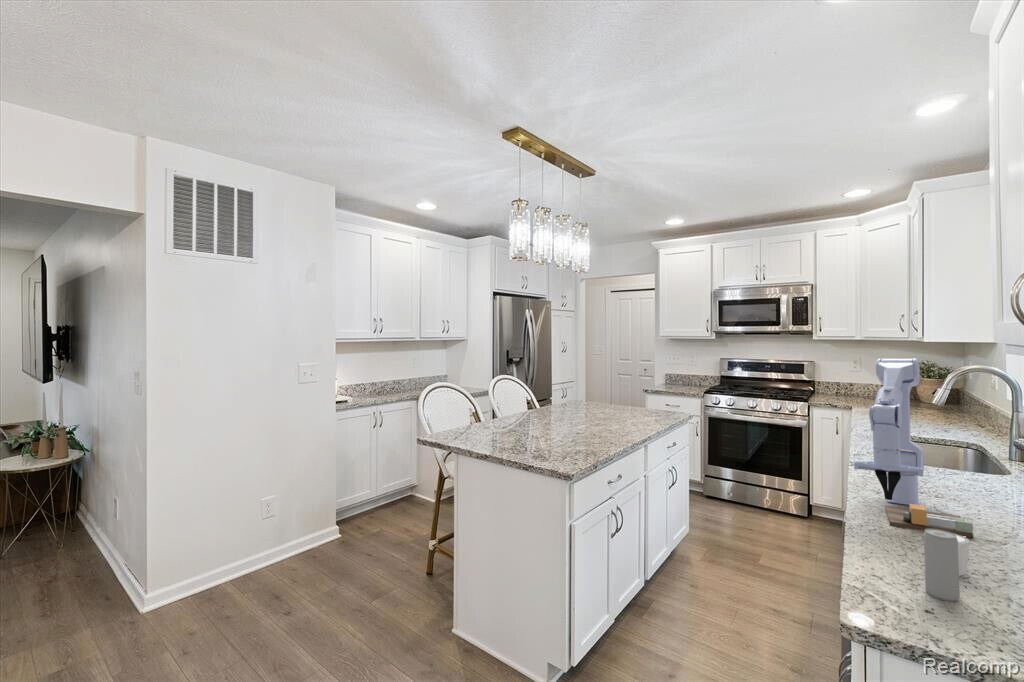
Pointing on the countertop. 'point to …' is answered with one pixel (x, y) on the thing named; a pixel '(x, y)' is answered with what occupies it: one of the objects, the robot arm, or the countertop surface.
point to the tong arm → (946, 517)
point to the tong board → (929, 521)
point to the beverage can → (941, 564)
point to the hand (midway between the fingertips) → (888, 498)
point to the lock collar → (918, 514)
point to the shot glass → (963, 554)
